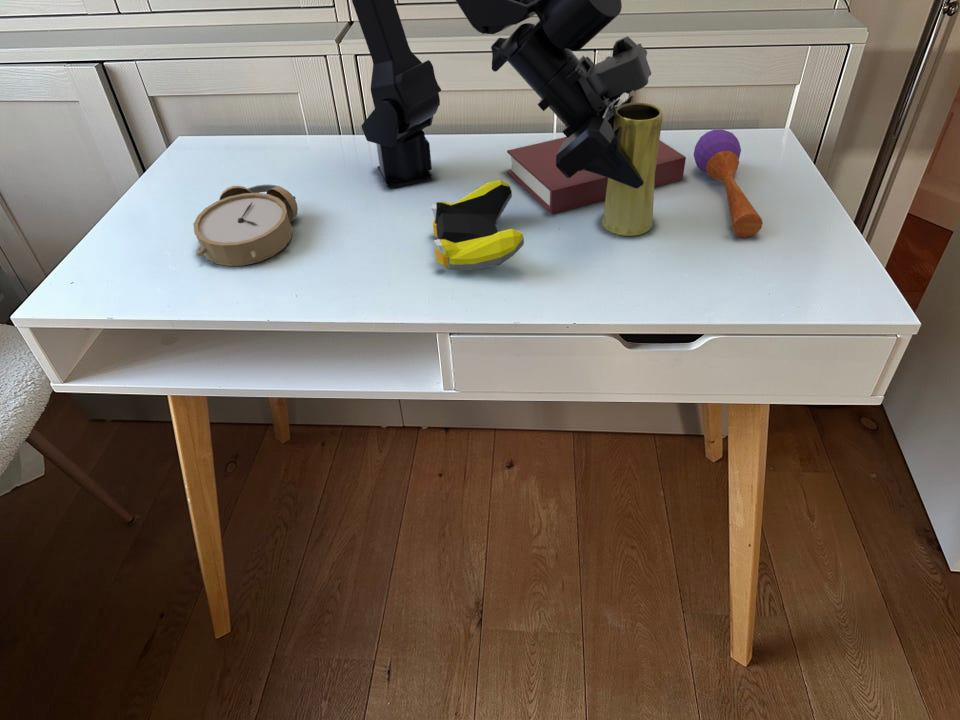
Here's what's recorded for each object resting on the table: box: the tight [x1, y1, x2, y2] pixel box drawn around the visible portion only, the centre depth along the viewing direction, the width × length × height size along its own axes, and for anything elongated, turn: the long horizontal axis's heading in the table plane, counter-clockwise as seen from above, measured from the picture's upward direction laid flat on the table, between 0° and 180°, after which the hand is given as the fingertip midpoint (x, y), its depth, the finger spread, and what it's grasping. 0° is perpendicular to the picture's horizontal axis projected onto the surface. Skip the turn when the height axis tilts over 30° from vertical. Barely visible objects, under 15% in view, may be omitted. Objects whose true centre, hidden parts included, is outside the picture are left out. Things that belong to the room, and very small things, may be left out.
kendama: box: [693, 128, 764, 239], centre depth 91 cm, size 6×6×20 cm
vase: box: [601, 102, 664, 237], centre depth 84 cm, size 6×6×14 cm
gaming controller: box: [430, 179, 525, 271], centre depth 85 cm, size 15×6×10 cm
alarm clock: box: [193, 184, 299, 267], centre depth 90 cm, size 11×5×15 cm
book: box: [506, 136, 687, 215], centre depth 98 cm, size 20×13×3 cm, turn 113°
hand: (644, 174), depth 84 cm, fingers closed on vase, 5 cm apart
